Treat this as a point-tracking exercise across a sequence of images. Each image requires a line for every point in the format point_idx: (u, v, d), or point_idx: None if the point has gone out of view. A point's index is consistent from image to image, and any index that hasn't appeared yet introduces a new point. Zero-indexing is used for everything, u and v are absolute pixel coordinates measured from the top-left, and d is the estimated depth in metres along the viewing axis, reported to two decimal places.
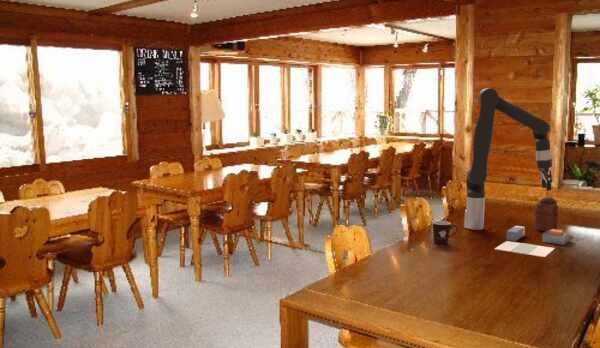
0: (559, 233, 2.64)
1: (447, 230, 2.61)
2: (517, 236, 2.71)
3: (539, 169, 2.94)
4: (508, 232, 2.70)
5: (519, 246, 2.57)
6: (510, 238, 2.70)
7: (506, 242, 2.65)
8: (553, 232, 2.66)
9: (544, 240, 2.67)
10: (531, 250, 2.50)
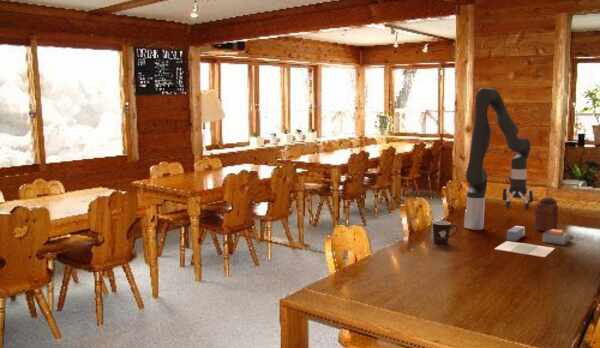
0: (559, 233, 2.64)
1: (447, 230, 2.61)
2: (517, 236, 2.71)
3: None
4: (508, 232, 2.70)
5: (519, 246, 2.57)
6: (510, 238, 2.70)
7: (506, 242, 2.65)
8: (553, 232, 2.66)
9: (544, 240, 2.67)
10: (531, 250, 2.50)
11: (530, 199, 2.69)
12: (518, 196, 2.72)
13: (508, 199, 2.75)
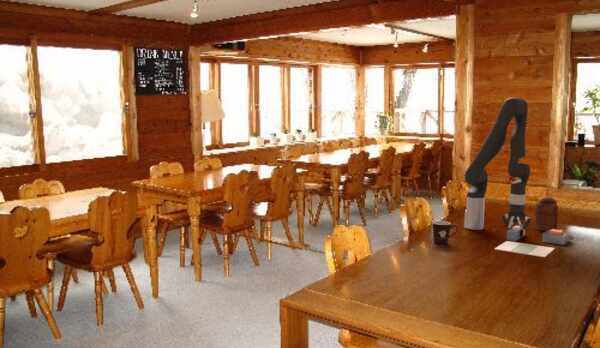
0: (559, 233, 2.64)
1: (447, 230, 2.61)
2: (517, 236, 2.71)
3: (529, 218, 2.72)
4: (508, 232, 2.70)
5: (519, 246, 2.57)
6: (510, 238, 2.70)
7: (506, 242, 2.65)
8: (553, 232, 2.66)
9: (544, 240, 2.67)
10: (531, 250, 2.50)
11: (525, 226, 2.71)
12: (515, 220, 2.74)
13: (510, 226, 2.76)
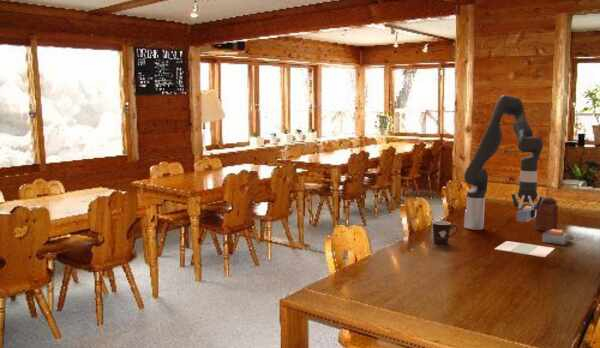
0: (559, 233, 2.64)
1: (447, 230, 2.61)
2: (528, 216, 2.47)
3: None
4: (519, 212, 2.47)
5: (519, 246, 2.57)
6: (521, 219, 2.47)
7: (506, 242, 2.65)
8: (553, 232, 2.66)
9: (544, 240, 2.67)
10: (531, 250, 2.50)
11: (537, 205, 2.48)
12: (526, 199, 2.51)
13: (520, 206, 2.52)
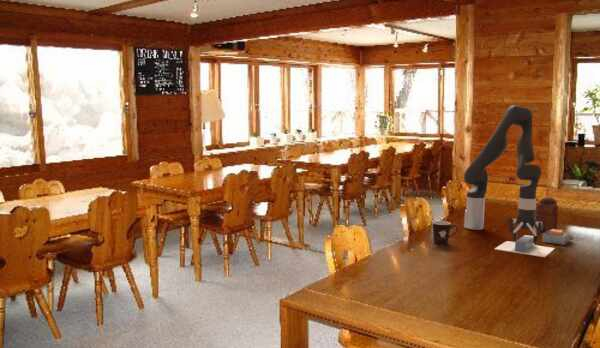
0: (559, 233, 2.64)
1: (447, 230, 2.61)
2: (527, 247, 2.49)
3: None
4: (517, 242, 2.49)
5: None
6: (519, 249, 2.48)
7: (506, 242, 2.65)
8: (553, 232, 2.66)
9: (544, 240, 2.67)
10: (531, 250, 2.50)
11: (539, 231, 2.48)
12: (526, 227, 2.52)
13: (515, 230, 2.55)
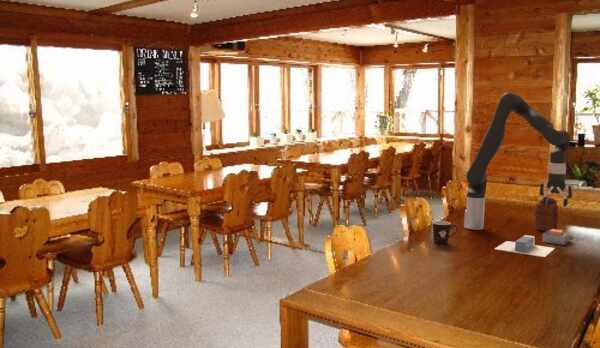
0: (559, 233, 2.64)
1: (447, 230, 2.61)
2: (527, 247, 2.49)
3: (570, 186, 2.60)
4: (517, 242, 2.49)
5: None
6: (519, 249, 2.48)
7: (506, 242, 2.65)
8: (553, 232, 2.66)
9: (544, 240, 2.67)
10: (531, 250, 2.50)
11: (569, 195, 2.59)
12: (556, 191, 2.62)
13: (545, 194, 2.65)
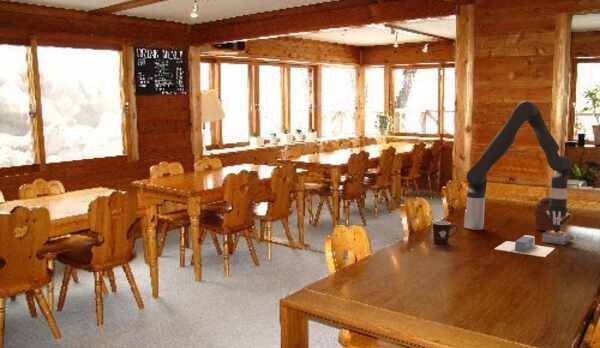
0: (559, 234, 2.65)
1: (447, 230, 2.61)
2: (527, 247, 2.49)
3: None
4: (517, 242, 2.49)
5: None
6: (519, 249, 2.48)
7: (506, 242, 2.65)
8: (553, 233, 2.66)
9: (544, 240, 2.67)
10: (531, 250, 2.50)
11: (563, 221, 2.64)
12: None
13: (556, 222, 2.66)
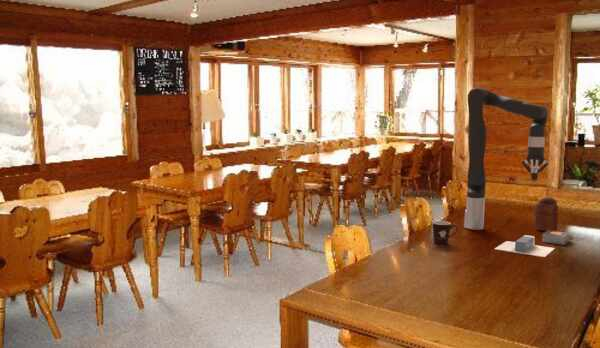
0: None
1: (447, 230, 2.61)
2: (527, 247, 2.49)
3: None
4: (517, 242, 2.49)
5: None
6: (519, 249, 2.48)
7: (506, 242, 2.65)
8: None
9: (544, 240, 2.67)
10: (531, 250, 2.50)
11: (540, 169, 2.70)
12: (533, 162, 2.72)
13: (533, 170, 2.72)
